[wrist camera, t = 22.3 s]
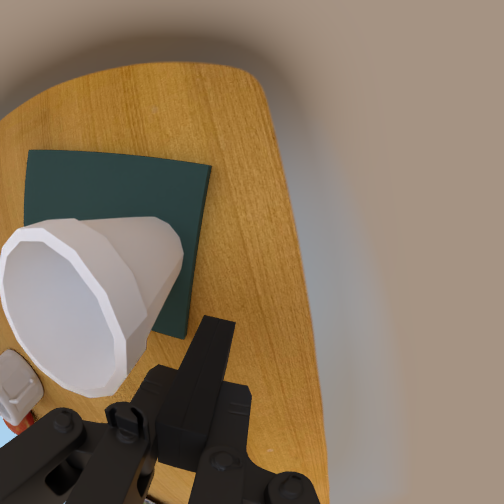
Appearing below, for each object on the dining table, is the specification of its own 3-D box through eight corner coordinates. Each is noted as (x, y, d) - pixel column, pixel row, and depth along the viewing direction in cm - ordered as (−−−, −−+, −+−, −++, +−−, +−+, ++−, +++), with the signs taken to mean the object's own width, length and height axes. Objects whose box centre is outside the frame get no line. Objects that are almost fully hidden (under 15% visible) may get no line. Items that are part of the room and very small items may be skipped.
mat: (212, 165, 21) (209, 165, 20) (186, 334, 26) (183, 339, 25) (34, 149, 22) (28, 149, 21) (32, 279, 26) (27, 282, 25)
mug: (28, 394, 34) (2, 421, 24) (0, 348, 32) (-31, 373, 22) (62, 399, 32) (33, 435, 23) (28, 346, 30) (-10, 378, 20)
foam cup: (95, 212, 22) (-17, 248, 10) (184, 184, 21) (79, 198, 8) (125, 307, 24) (44, 388, 12) (213, 295, 23) (159, 405, 11)
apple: (37, 424, 38) (22, 444, 30) (13, 400, 37) (-4, 418, 29) (40, 415, 36) (22, 437, 28) (13, 388, 35) (-6, 407, 27)
